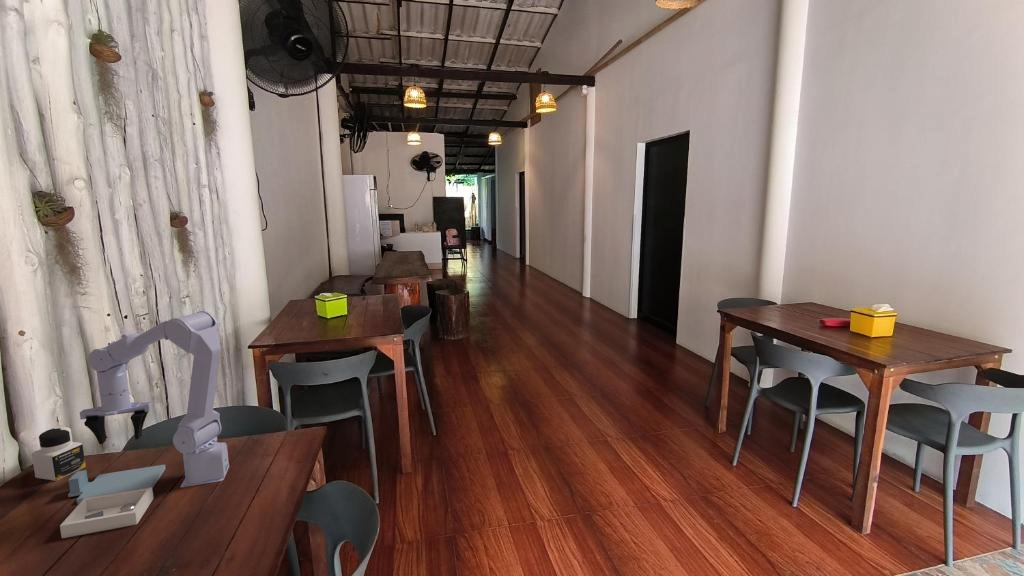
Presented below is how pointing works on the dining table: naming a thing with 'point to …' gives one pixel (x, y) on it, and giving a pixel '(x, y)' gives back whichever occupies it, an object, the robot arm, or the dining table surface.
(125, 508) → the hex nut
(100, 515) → the rubber block
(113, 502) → the tub
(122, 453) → the dining table surface
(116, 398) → the robot arm
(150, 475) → the lid
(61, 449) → the medicine bottle
